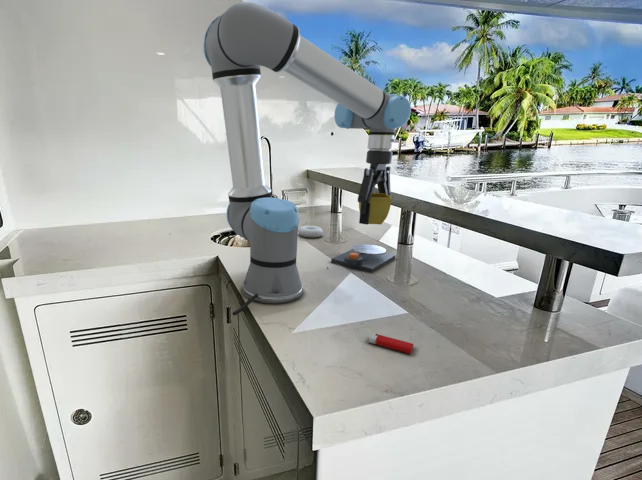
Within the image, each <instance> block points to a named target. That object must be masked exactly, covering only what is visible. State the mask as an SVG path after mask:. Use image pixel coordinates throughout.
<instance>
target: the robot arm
mask: <svg viewBox="0 0 642 480" xmlns="http://www.w3.org/2000/svg"><path fill="white" fill-rule="evenodd" d="M202 50H203V55H204V58H205V60H206V62H207V64H208V66H209V67H210V69H211V74H212V75H211V76H212V82H213V83H214V84H215V85H216V86H218V87H219V90H220V97H221V104H222V112H223V120H224V127H225V135H226V142H227V150H228V151H227V152H228V158H229V166H230V173H231V183H232V187H231V189H230V190H229V192H228V193H227V195H228V202H229V203H228V205H227V208H226V215H225V216H226V220H227V221H226V222H227V223H228V226H229V227H230V228H231V230H232V231H233V232H234V233H235V234H236V235H238V236H239V237H240V238H243V240H246V241H247V242H249V259H250V260H249V265H248V269H247V270H246V271H247V272H246V275H245V278H244V281H243V284H242V293H243V295H244V296H245V297H246V298H247V299H248V300H246V301H245V302H244V303H243V304H242V306H240V307H239V308H238V309H236V310H235V311H233V312H232V315H233V316H237V315H238V314H240V313H241V312H243V311H244V310H245V309H246V308H247V307H248V306H249V305H250V304H252V302H253V301H255V302H258V303H262V304H275V305H276V304H277V305H278V304H286V303H291V302H293V301H295V300H297V299H299V298H300V297H301V296H302V294H303V283H302V280H301V277H300V274H299V270H298V266H297V256H298V254H297V253H298V236H299V232H298V230H299V224H300V218H299V208H298V206H297V205H296V204H295V203H293V202H292V201H290V200H287V199H283V198H282V199H281V198H279V197H273V195H272V189H271V187H269V186H268V185H267V183H266V181H265V172H264V161H263V160H264V159H263V150H262V148H263V147H262V140H261V139H262V138H261V129H260V119H259V108H258V107H259V106H258V98H257V97H258V96H257V86H256V85H257V83H258V82H259V80H261V78H262V74H261V72H262V71H261V67H265V68H267V69H269V70H271V71H272V72H274V73H277V74H278V73H281V72H284V73H285V74H288V75H290V76H291V77H293V78H295V79H297V80H298V81H300V82H301V83H303V84H305V85H306V86H308V87H310V88H311V89H313V90H315V91H317V92H318V93H320V94H322V95H323V96H325V97H327V98H329V99H330V100H331V101H334V102H336V103H337V104H336V106H335V108H334V115H333V116H334V117H333V119H334V123H335V124H336V126H337V127H338V128H340V129H347V130H348V129H355V130H356V129H360V130H368V138H367V145H366V146H367V149H368V150H367V152H366V157H365V159H366V160H365V162H366V164H370V166H369V168H368V167H366V168H364V170H363V176H362V177H363V178H362V181H361V186H360V188H359V192H358V195H357V203H359V202H360V203H361V209H360V211H359V219H358V224H362V225H366V226H367V225H369V224H368V221H369V212H370V203H369V201H370V198H371V196H372V193H374V190H375V188H376V185H377V190H378V193H384V194H387V195H389V196H390V197H391V193H392V191H391V166H387V165H391V164H392V160H393V151H392V150H393V149H394V143H395V142H396V138H395V135H396V133H395V132H396V129H399V128H402V127H404V126H405V125H406V124H407V122H408V121H409V119H410V116H411V112H412V107H411V102H410V101H409V99H408V97H406V96H404V95H397V94H394V93H387V92H385V91H384V90H382V89H381V88H380V87H378V86H377V85H375V84H374V83H372V82H370V81H369V80H367V79H366V78H365V77H363V76H361V75H360V74H358V73H357V72H356V71H354V70H352V69H351V68H349V67H348V66H346V65H345V64H343V62H340V61H339V60H337V58H334V57H333V56H331V55H330V54H329V53H328V52H326V51H324V50H323V49H321V48H320V47H318V46H317V45H315V44H314V43H312V42H311V41H310V40H308V39H306V38H305V37H303V36H302V35H301V31H300V28H299V27H298V26H297V25H296V24H294V23H292V22H291V21H290V20H289V19H287V18H285V17H283V16H282V15H281V14H279V13H277V12H275V11H274V10H272V9H269V8H268V7H266V6H265V5H262V4H259V3H256V2H251V1H241V2H237V3H235V4H233V5H231V6H229V7H228V8H227V9H226V10H225V12H223V13H222V14H220V15H219V16H217V17H216V18H215V19H214V20H212V21H211V23H210V24H209V25H208V27H207V28H206V31H205V33H204V35H203V40H202Z"/></svg>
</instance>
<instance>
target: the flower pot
mask: <svg viewBox="0 0 642 480" xmlns="http://www.w3.org/2000/svg"><path fill="white" fill-rule="evenodd" d="M392 202H393V197H392V196H391V195H390V196H389V195H387V194H384V193H379V192H373V193H372V196H371V198H370V201H369V203H370V212H369V221H368V225H383V223H384V222H385V221H386V220H387V217H388V215H389V213H390V209H391V205H392ZM360 209H361V203H360V202H358V211H359V212H360Z"/></svg>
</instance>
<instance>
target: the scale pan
mask: <svg viewBox="0 0 642 480" xmlns="http://www.w3.org/2000/svg"><path fill="white" fill-rule="evenodd" d="M351 250H353V251H354V252H357V253H360V254H365V255H382V254H385V253H387V249H386V248H385V247H382V246H380V245H377V244H369V243H360V244H359V243H358V244H355V245H352V246H351Z"/></svg>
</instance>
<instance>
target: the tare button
mask: <svg viewBox="0 0 642 480" xmlns="http://www.w3.org/2000/svg"><path fill="white" fill-rule="evenodd" d="M349 258H351V259H358V253H350V257H349Z"/></svg>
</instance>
